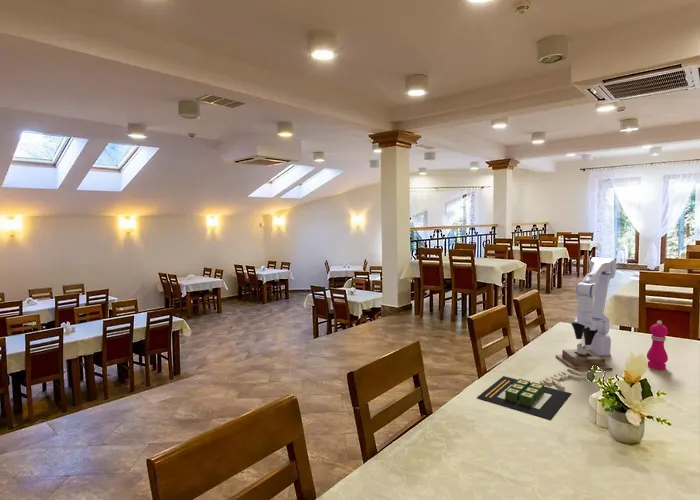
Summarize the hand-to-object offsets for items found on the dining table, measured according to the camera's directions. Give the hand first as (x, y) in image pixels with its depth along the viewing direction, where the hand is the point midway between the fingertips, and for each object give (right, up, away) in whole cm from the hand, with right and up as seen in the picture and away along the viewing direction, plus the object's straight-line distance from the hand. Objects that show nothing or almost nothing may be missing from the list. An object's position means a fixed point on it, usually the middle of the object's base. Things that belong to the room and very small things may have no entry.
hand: (583, 341), depth 185 cm
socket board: (0, -9, +1) cm, 9 cm away
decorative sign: (-17, -12, -17) cm, 26 cm away
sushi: (-38, -14, -30) cm, 50 cm away
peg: (0, -8, +1) cm, 8 cm away
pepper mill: (+28, -10, -5) cm, 30 cm away
